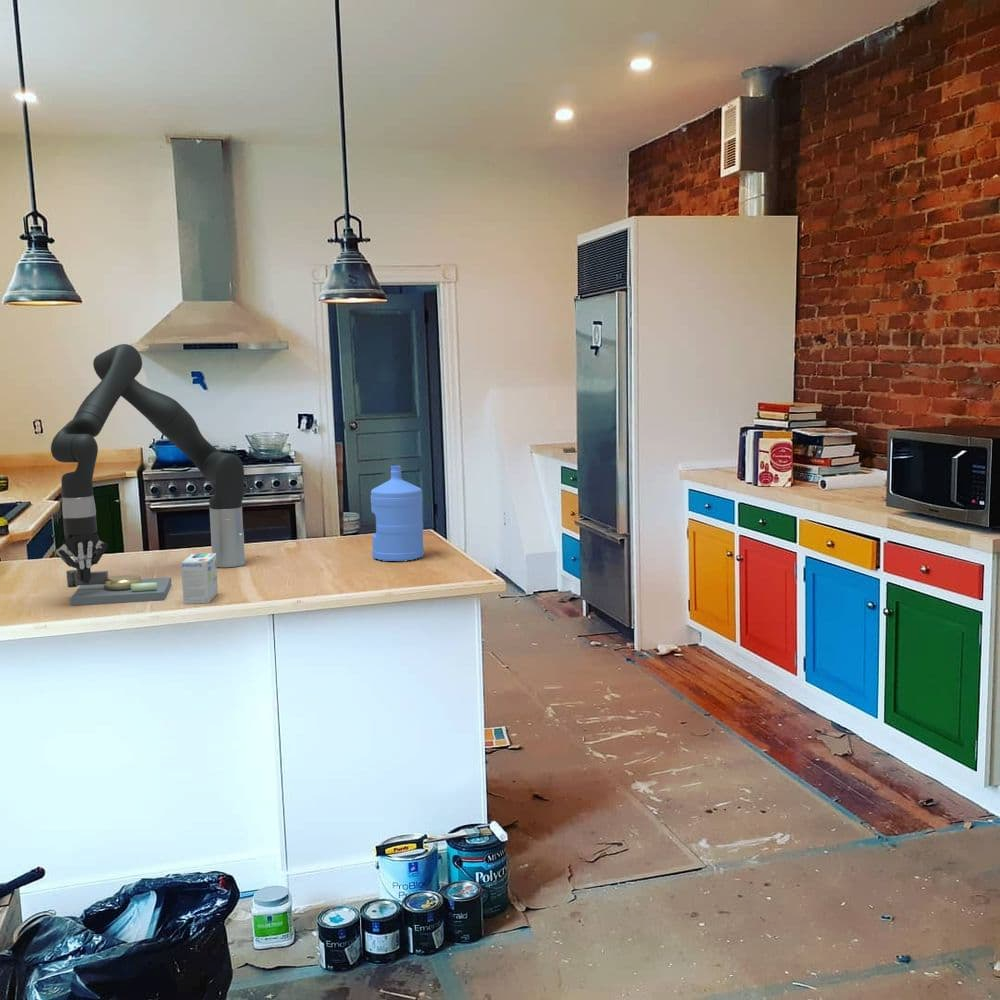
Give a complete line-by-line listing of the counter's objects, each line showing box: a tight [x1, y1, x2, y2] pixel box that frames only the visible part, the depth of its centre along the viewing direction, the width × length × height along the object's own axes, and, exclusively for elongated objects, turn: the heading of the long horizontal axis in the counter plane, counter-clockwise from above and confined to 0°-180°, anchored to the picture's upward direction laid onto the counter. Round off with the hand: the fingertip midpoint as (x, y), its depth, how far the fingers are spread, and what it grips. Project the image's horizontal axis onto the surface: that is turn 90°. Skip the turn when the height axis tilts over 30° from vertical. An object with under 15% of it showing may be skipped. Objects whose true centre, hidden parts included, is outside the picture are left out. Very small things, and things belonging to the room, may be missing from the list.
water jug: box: [370, 464, 425, 562], centre depth 293 cm, size 16×16×28 cm
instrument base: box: [69, 576, 172, 607], centre depth 250 cm, size 22×18×4 cm
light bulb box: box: [180, 552, 219, 605], centre depth 244 cm, size 11×7×11 cm, turn 5°
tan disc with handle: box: [66, 569, 142, 590], centre depth 248 cm, size 18×9×5 cm, turn 103°
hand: (84, 582), depth 242 cm, fingers closed
